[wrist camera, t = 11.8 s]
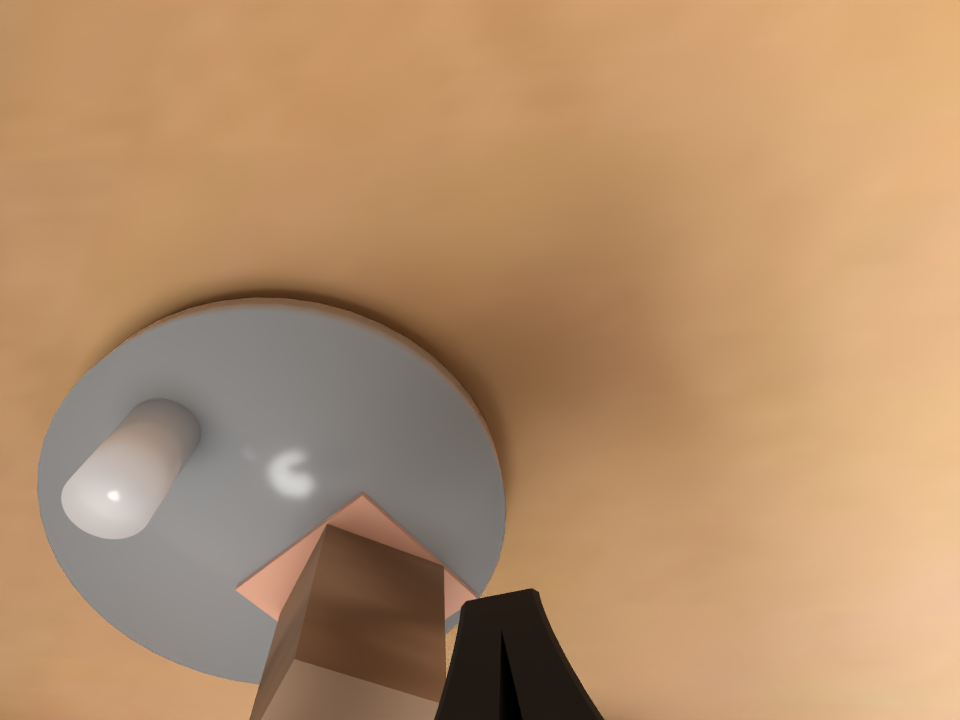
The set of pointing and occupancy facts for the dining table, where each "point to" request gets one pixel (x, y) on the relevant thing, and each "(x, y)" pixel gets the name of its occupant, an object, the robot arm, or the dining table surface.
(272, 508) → the turntable
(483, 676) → the robot arm
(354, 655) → the walnut block
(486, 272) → the dining table surface
